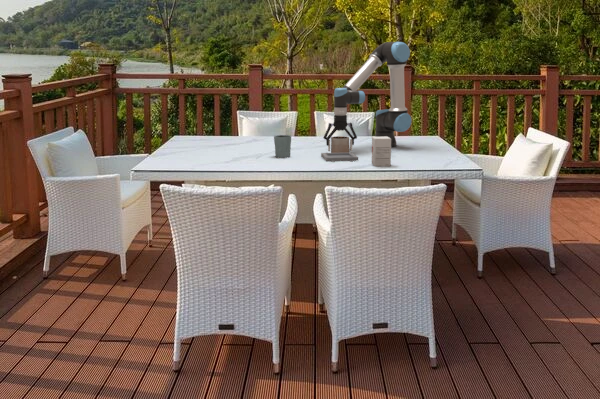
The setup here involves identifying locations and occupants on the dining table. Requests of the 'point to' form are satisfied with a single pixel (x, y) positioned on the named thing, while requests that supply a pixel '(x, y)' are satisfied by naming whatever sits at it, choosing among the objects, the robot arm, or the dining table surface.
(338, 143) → the planter
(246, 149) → the dining table surface
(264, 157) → the dining table surface
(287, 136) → the grey cup
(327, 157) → the grey tray
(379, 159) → the supplement box
